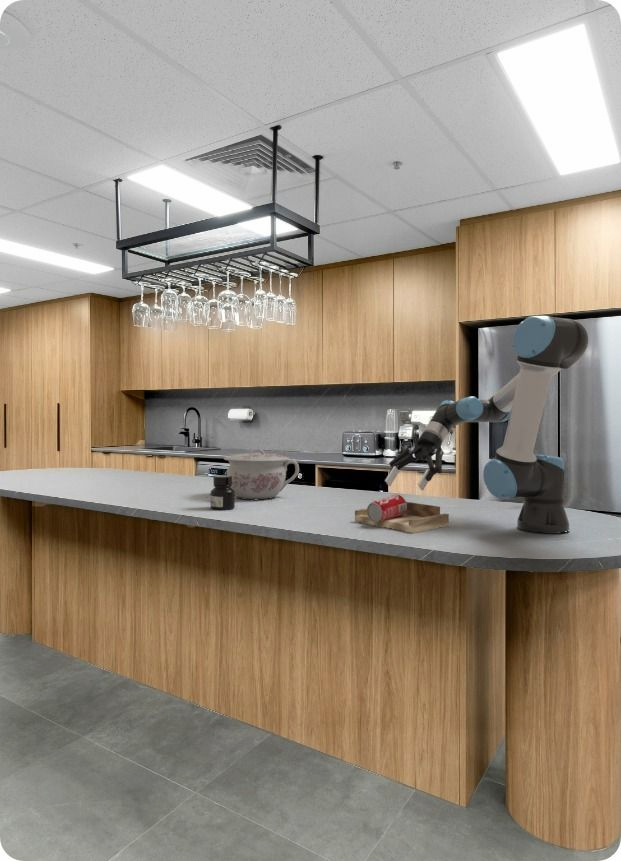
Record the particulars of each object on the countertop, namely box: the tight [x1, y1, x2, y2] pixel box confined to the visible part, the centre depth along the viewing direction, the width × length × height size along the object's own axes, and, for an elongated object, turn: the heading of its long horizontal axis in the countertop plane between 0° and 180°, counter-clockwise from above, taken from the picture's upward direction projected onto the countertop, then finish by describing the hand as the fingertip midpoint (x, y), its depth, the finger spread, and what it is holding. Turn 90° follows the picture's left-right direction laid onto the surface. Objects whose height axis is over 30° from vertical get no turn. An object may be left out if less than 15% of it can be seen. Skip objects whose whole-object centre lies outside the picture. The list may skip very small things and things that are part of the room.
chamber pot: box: [223, 447, 300, 500], centre depth 249 cm, size 28×28×21 cm
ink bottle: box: [209, 474, 236, 511], centre depth 220 cm, size 10×9×12 cm
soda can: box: [366, 494, 407, 522], centre depth 192 cm, size 7×7×13 cm
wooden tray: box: [354, 501, 450, 534], centre depth 193 cm, size 24×18×6 cm
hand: (403, 485), depth 193 cm, fingers open, 13 cm apart
